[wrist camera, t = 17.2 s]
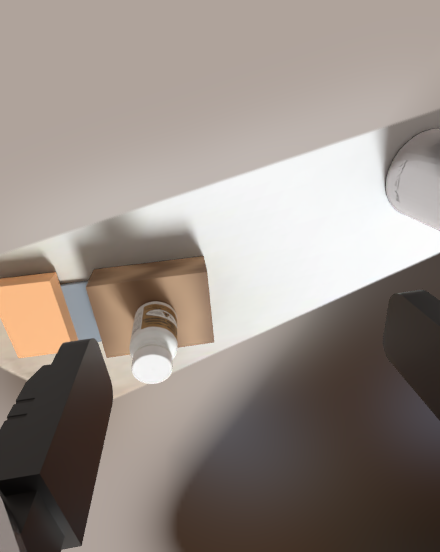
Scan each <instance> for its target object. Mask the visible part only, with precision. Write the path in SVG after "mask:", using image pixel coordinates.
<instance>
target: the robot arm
mask: <svg viewBox="0 0 440 552" xmlns="http://www.w3.org/2000/svg"><path fill="white" fill-rule="evenodd" d="M386 192H387V197H388V199H389V202H390V203H391V205H392V206H393V207H394V209H396V210H397V211H399V212H400V213H402V214H404V215H406V216H409V217H411V218H413V219H415V220H417V221H420V222H422V223H424V224H426V225H428V226H430V227H432V228H435V229H437V230H439V231H440V128H437V129H430V130H427V131H424V132H422V133H420V134H418V135H416V136H414V137H413V138H412V139H411V140H409V141H408V142H407V143H406V144H405V145H404V146H403V147H402V148H401V149H400V150H399V152H398V153H397V155H396V156H395V158H394V159H393V161H392V163H391V166H390V168H389V171H388V175H387V178H386ZM383 347H384V351H385V354H386V356H387V358H388V360H389V361H390V362H391V363H392V365H393V366H394V367H395V368H396V369H397V371H398V372H399V373H400V374H401V375H402V377H403V378H404V379H405V380H406V381H407V383H408V384H409V385H410V386H411V387H412V388H413V390H414V391H415V392H416V393H417V394H418V395H419V397H420V398H421V399H422V400H423V401H424V403H425V404H426V405H427V406H428V407H429V409H430V410H431V411H432V412H433V413H434V414H435V416H436V417H437V418H438V419H439V420H440V300H438V299H437V298H436V297H434V296H433V295H431V294H430V293H429V292H427V291H425V290H416V291H410V292H403V293H396V294H393V295H392V296H391V297H390V300H389V304H388V310H387V316H386V323H385V328H384V335H383ZM112 402H113V390H112V383H111V380H110V377H109V374H108V371H107V368H106V365H105V362H104V359H103V356H102V353H101V350H100V347H99V345H98V342H97V341H96V339H94V338H91V339H84V340H77V341H70V342H64V343H62V345H61V346H60V348H59V350H58V352H57V354H56V356H55V358H54V360H53V362H52V364H51V365H44V366H42V367H41V368H40V369H39V370H38V371H37V372H36V373H35V374H34V375H33V376H32V377H31V378H30V379H29V380H28V381H27V382H26V383H25V385H24V387H23V389H22V391H21V392H20V394H19V396H18V398H17V400H16V404H14V405H13V407H12V409H11V411H10V412H9V414H8V416H7V421H5V422H4V423H3V425H2V427H1V429H0V552H61V550H62V549H67V548H73V547H78V546H82V541H83V537H84V532H85V527H86V523H87V518H88V513H89V509H90V504H91V500H92V495H93V491H94V486H95V482H96V477H97V472H98V467H99V463H100V459H101V454H102V449H103V445H104V440H105V436H106V431H107V426H108V422H109V417H110V413H111V408H112Z"/></svg>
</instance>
